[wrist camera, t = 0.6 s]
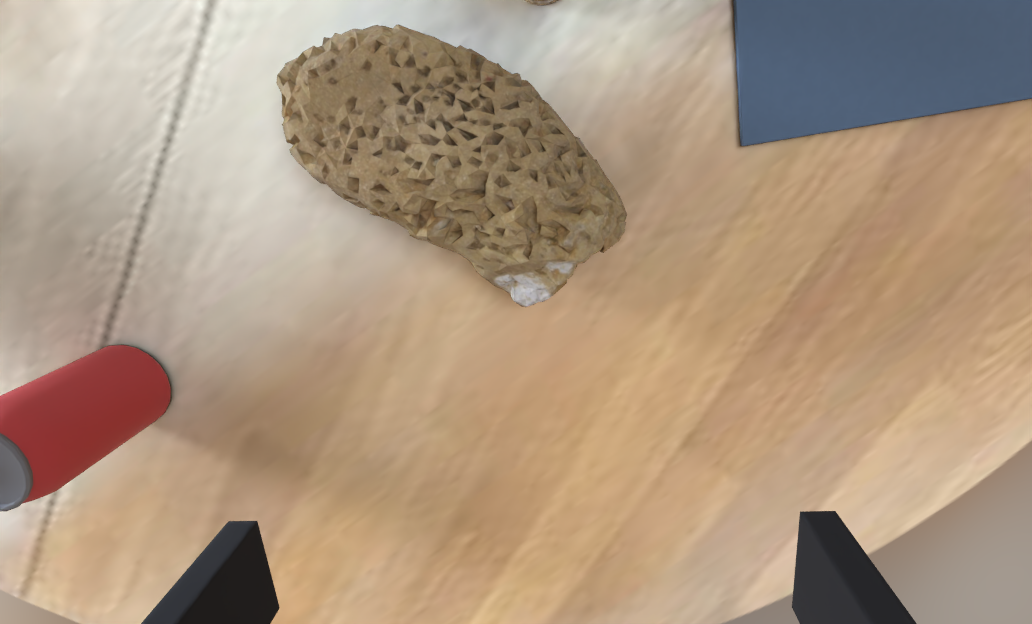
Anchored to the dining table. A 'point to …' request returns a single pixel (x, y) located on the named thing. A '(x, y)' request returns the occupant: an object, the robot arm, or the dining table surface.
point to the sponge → (451, 154)
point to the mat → (874, 61)
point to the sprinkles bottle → (541, 2)
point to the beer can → (75, 419)
